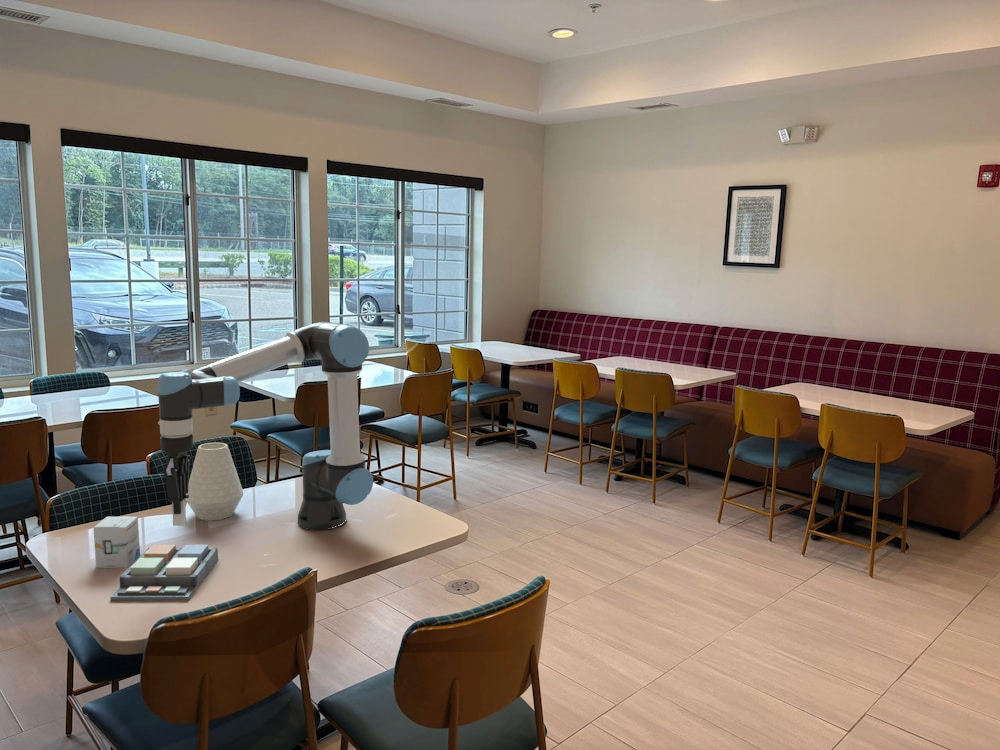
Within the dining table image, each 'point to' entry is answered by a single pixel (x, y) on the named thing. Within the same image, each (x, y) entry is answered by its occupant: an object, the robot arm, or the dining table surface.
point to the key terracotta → (161, 552)
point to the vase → (214, 483)
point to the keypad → (164, 582)
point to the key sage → (147, 566)
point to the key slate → (194, 552)
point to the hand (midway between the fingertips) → (179, 524)
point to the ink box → (116, 542)
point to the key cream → (182, 566)
